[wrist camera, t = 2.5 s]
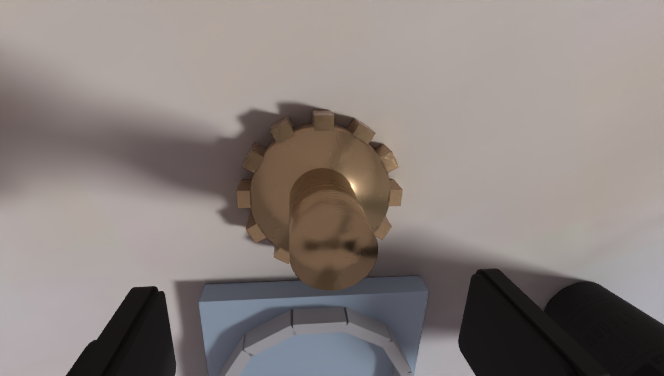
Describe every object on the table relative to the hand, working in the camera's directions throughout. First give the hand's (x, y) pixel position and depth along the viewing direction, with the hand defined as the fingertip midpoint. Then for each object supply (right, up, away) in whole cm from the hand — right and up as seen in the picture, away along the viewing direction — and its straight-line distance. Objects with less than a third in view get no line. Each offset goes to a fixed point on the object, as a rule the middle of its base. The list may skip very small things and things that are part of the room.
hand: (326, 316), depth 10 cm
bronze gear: (-1, +4, +8) cm, 9 cm away
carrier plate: (-1, -10, +13) cm, 16 cm away
